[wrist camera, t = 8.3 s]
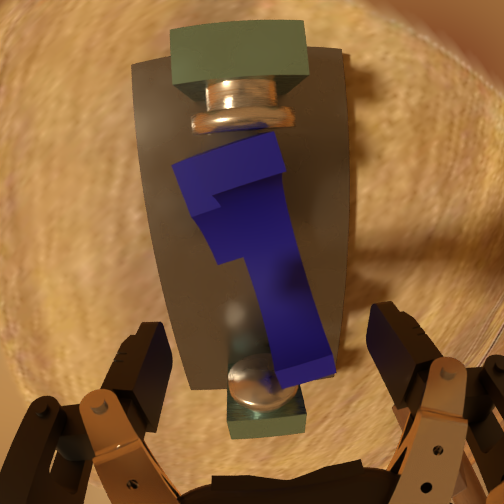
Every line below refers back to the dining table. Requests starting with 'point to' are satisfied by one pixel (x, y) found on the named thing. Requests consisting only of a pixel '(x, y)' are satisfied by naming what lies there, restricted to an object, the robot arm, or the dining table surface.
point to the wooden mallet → (467, 484)
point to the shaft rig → (294, 185)
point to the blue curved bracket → (259, 246)
